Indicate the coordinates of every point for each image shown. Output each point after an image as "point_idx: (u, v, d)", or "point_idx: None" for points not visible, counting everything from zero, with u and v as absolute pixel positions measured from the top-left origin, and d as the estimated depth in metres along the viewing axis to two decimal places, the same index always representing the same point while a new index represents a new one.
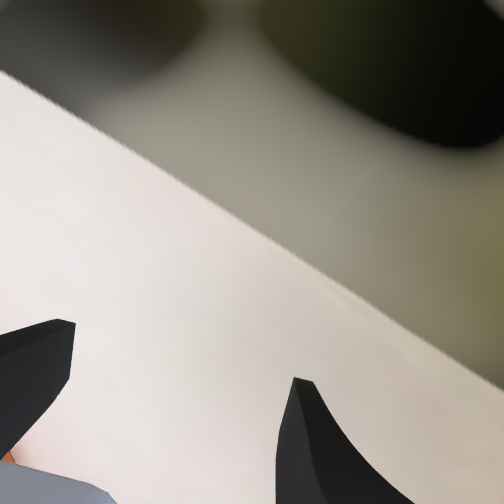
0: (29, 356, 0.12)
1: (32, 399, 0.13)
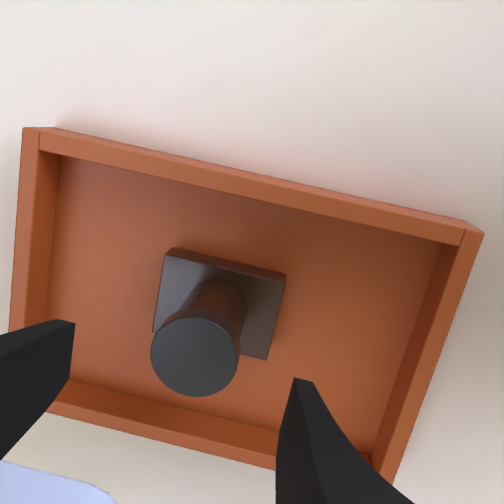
0: (29, 356, 0.12)
1: (32, 399, 0.13)
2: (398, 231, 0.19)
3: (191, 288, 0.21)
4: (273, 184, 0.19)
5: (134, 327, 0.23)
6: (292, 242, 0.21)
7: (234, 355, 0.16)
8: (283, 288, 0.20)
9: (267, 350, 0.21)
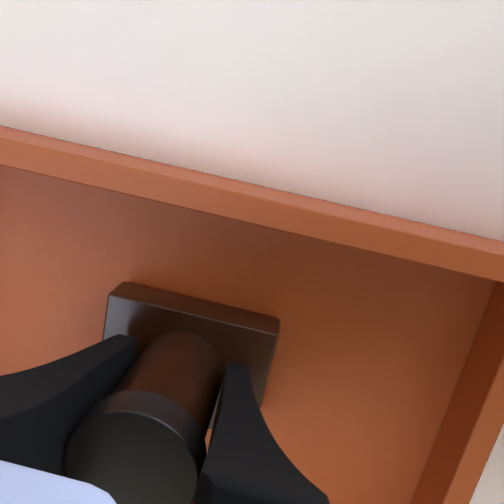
0: (102, 374, 0.12)
1: None
2: (442, 266, 0.13)
3: (146, 341, 0.15)
4: (260, 197, 0.13)
5: None
6: (288, 275, 0.15)
7: (194, 470, 0.10)
8: (275, 343, 0.14)
9: None
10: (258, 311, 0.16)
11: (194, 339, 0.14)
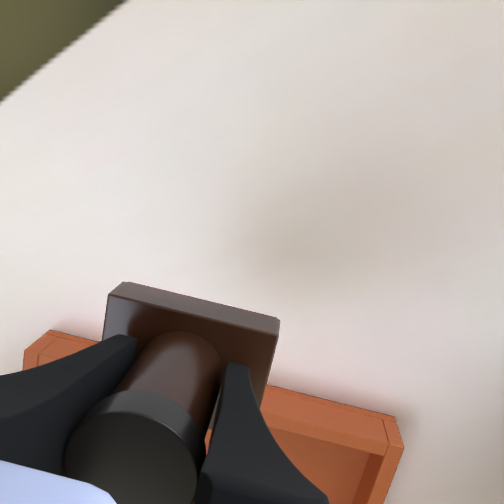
0: (102, 374, 0.12)
1: None
2: (334, 442, 0.23)
3: (146, 341, 0.15)
4: None
5: None
6: None
7: (194, 470, 0.10)
8: (274, 343, 0.14)
9: None
10: None
11: (194, 339, 0.14)
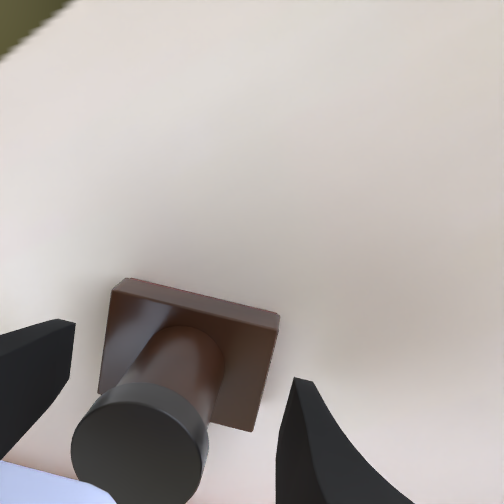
0: (29, 356, 0.12)
1: (32, 399, 0.13)
2: None
3: (149, 336, 0.15)
4: None
5: None
6: None
7: (197, 459, 0.11)
8: (274, 337, 0.15)
9: (253, 419, 0.16)
10: None
11: (196, 334, 0.14)
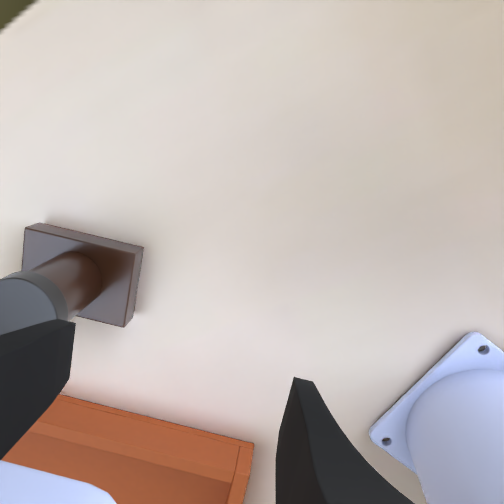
0: (29, 356, 0.12)
1: (32, 399, 0.13)
2: (184, 471, 0.24)
3: (51, 259, 0.22)
4: (87, 432, 0.24)
5: None
6: (120, 455, 0.26)
7: (54, 313, 0.18)
8: (133, 259, 0.22)
9: (124, 317, 0.23)
10: (105, 474, 0.27)
11: (79, 256, 0.22)
